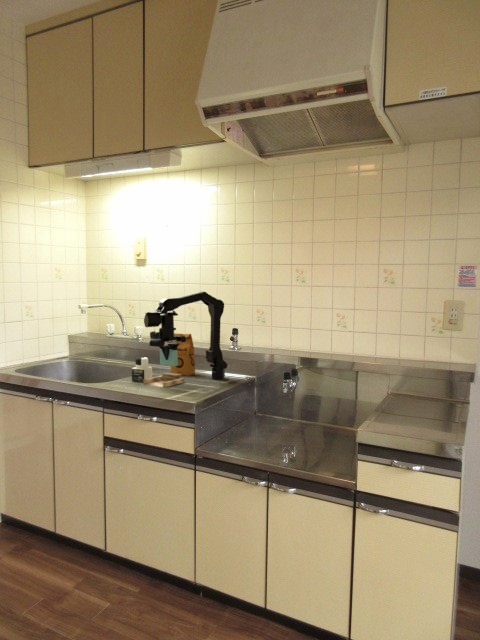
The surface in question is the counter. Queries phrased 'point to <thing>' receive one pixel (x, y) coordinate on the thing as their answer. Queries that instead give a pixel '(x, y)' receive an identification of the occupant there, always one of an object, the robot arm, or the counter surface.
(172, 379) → the offcut low
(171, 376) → the offcut top
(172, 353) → the teal rectangular block
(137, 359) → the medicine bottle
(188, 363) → the coffee package
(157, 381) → the wooden tray
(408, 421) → the counter surface
